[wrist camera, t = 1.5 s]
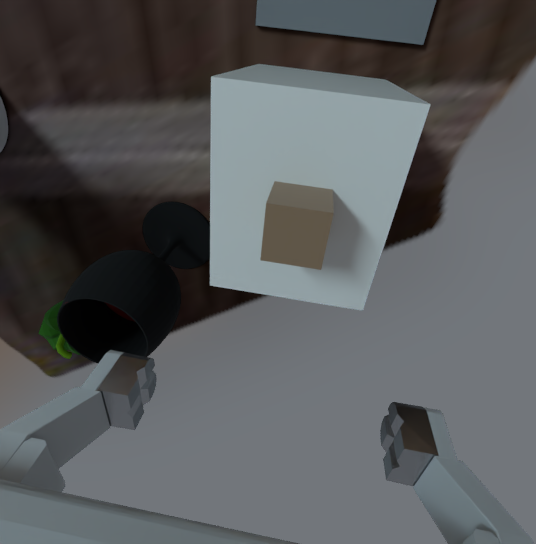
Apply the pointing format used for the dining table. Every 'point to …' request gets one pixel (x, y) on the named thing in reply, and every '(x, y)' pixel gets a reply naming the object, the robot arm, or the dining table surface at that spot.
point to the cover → (306, 180)
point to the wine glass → (135, 287)
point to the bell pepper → (55, 332)
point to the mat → (351, 17)
